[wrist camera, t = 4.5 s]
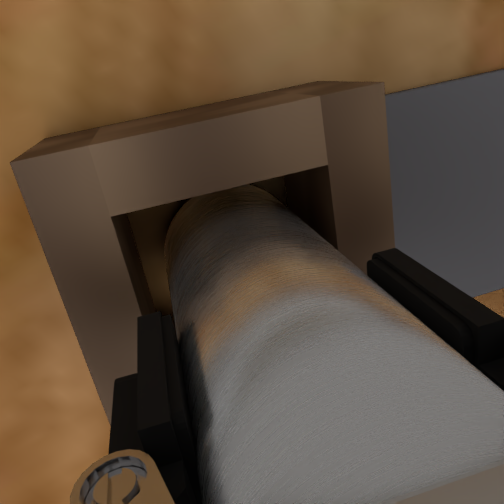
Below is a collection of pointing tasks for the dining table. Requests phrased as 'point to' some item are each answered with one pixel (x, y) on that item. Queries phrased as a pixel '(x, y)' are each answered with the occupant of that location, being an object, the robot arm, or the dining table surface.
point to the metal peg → (311, 366)
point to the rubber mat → (450, 178)
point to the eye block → (199, 183)
